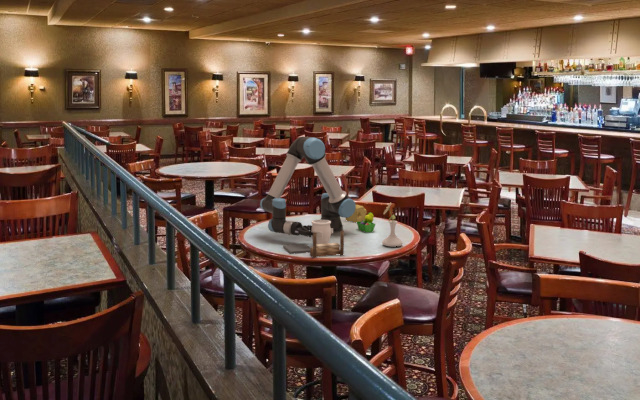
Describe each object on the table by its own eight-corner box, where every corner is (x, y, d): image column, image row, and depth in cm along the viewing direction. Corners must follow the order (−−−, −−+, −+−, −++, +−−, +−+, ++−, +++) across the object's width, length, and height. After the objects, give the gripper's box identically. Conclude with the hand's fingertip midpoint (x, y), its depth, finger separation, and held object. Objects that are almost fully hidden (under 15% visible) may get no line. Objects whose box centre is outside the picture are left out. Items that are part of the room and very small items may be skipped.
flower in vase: (389, 242, 366) (390, 199, 361) (406, 245, 358) (407, 201, 354) (376, 246, 356) (377, 202, 351) (393, 249, 348) (395, 204, 344)
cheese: (367, 221, 425) (367, 206, 423) (356, 223, 417) (356, 208, 415) (355, 218, 432) (355, 204, 430) (344, 221, 424) (344, 206, 422)
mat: (305, 246, 355) (305, 243, 355) (313, 252, 342) (313, 249, 342) (283, 247, 351) (283, 245, 351) (290, 253, 338) (290, 251, 338)
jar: (333, 246, 354) (333, 220, 352) (327, 251, 345) (327, 223, 342) (314, 245, 358) (315, 218, 355) (308, 249, 348) (308, 222, 345)
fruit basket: (355, 229, 398) (356, 211, 396) (367, 228, 402) (368, 210, 400) (365, 233, 388) (365, 215, 386) (377, 232, 392) (378, 214, 390)
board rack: (339, 252, 342) (339, 228, 340) (344, 255, 336) (344, 231, 334) (309, 254, 337) (309, 230, 335) (313, 257, 330) (313, 233, 328)
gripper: (304, 231, 369) (338, 235, 358) (281, 238, 350) (316, 243, 338) (304, 218, 368) (338, 222, 356) (281, 225, 348) (316, 229, 337)
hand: (327, 232), depth 347 cm, fingers closed on jar, 10 cm apart
